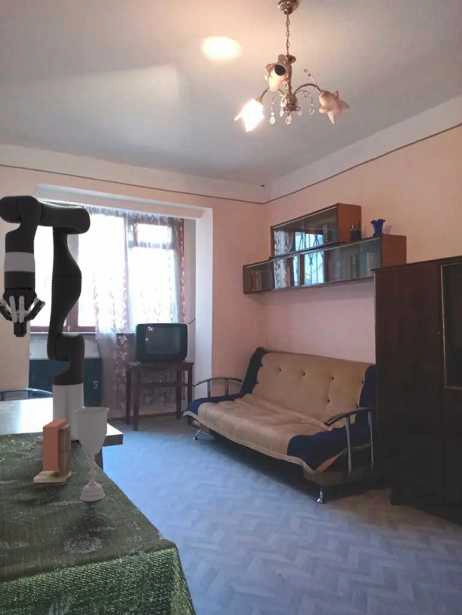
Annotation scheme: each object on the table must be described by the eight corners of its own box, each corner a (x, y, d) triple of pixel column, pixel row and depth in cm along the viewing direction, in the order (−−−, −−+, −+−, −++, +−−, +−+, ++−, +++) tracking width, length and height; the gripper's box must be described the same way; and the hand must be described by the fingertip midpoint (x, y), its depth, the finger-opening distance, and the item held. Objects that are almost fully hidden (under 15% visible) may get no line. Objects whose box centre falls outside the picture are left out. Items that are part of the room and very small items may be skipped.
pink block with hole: (55, 460, 112) (55, 419, 112) (67, 460, 112) (67, 419, 113) (43, 471, 104) (42, 426, 104) (56, 470, 104) (56, 426, 105)
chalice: (116, 492, 99) (116, 407, 99) (97, 504, 92) (96, 414, 93) (88, 489, 101) (87, 406, 101) (67, 500, 94) (66, 412, 95)
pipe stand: (41, 475, 111) (41, 425, 111) (71, 474, 111) (70, 424, 111) (33, 482, 106) (33, 430, 106) (64, 481, 106) (63, 429, 106)
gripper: (50, 272, 125) (50, 336, 125) (1, 273, 125) (1, 337, 124) (39, 269, 118) (40, 337, 117) (-13, 269, 117) (-13, 338, 117)
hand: (20, 337), depth 121 cm, fingers closed
